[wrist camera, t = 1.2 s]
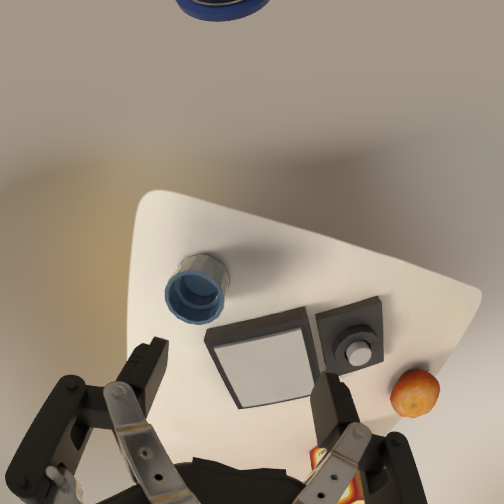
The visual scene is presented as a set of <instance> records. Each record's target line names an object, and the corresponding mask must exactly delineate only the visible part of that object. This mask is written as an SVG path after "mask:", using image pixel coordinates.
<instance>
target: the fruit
mask: <svg viewBox="0 0 504 504" xmlns="http://www.w3.org/2000/svg"><path fill="white" fill-rule="evenodd" d="M439 392H440V386H439V382H438V381H437V379H436V378H435V377H434V376H433V375H432V374H430V373H429V372H428V370H427V371H424V370H415V371H408V372H406V373H404V374H403V375H402V376H401V377H400V379H399V380H398V382H397V384H396V385H395V387H394V389H393V391H392V394H391V396H390V401H391V404H392V406H393V408H394V410H395V411H396V412H397V413H398V414H399V415H400V416H402V417H410V418H415V417H418V416H420V415H423V414H426V413H428V412H429V411H430V410H431V409H432V408H433V406H434V405H435V403H436V401H437V399H438V396H439Z"/></svg>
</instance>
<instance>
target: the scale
mask: <svg viewBox="0 0 504 504" xmlns="http://www.w3.org/2000/svg"><path fill="white" fill-rule="evenodd" d="M204 342H205V344H206V347H207V349H208V351H209V353H210V355H211V357H212V359H213V361H214V363H215V365H216V367H217V369H218V371H219V373H220V375H221V377H222V379H223V381H224V383H225V385H226V387H227V389H228V391H229V393H230V395H231V396H232V398H233V400H234V402H235V404H236V406H237V408H238V409H245V408H252V407H258V406H264V405H270V404H275V403H280V402H285V401H290V400H295V399H299V398H304V397H308V396H311V392H312V389H313V388H314V386H315V384H316V382H317V380H318V378H319V376H320V372H319V367H318V362H317V357H316V352H315V348H314V343H313V339H312V334H311V330H310V325H309V321H308V317H307V313H306V310H305V307H301V308H297V309H293V310H289V311H285V312H281V313H277V314H273V315H269V316H265V317H261V318H257V319H252V320H248V321H244V322H239V323H235V324H230V325H225V326H221V327H216V328H211V329H207V331H206V334H205V338H204Z"/></svg>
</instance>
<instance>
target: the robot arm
mask: <svg viewBox="0 0 504 504" xmlns="http://www.w3.org/2000/svg"><path fill="white" fill-rule="evenodd" d="M190 1H192V2H193V3H195V4H198V5H201V6H205V7H228V6H233V5H237V4H240V3H242V2H245V1H247V0H190ZM168 347H169V340H165V339H162V338H159V337H154V338H153V340H152V341H151V343H150V345H148V344H145V343H142V344H140V345H139V346H137V347H136V348H135V349H134V351H133V352H132V354H131V356H130V357H129V359H128V361H127V362H126V364H125V366H124V367H123V369H122V371H121V372H120V374H119V376H118V377H117V379H116V381H114V382H110V383H108V384H107V385H106V386H105V387H97V386H90V385H86V384H85V382H84V380H83V379H82V378H81V377H79V376H76V375H66V376H63V377H62V378H61V379H60V380H59V381H58V383H57V384H56V386H55V387H54V389H53V390H52V392H51V393H50V395H49V396H48V398H47V400H46V401H45V403H44V404H43V406H42V408H41V409H40V411H39V413H38V414H37V416H36V418H35V419H34V421H33V423H32V424H31V426H30V428H29V429H28V431H27V433H26V435H25V437H24V438H23V440H22V442H21V444H20V446H19V448H18V449H17V451H16V453H15V455H14V457H13V459H12V461H11V463H10V465H9V467H8V469H7V471H6V474H5V480H6V484H7V486H8V488H9V489H10V490H11V491H12V492H13V493H14V494H15V495H16V496H18V497H19V498H20V499H21V500H22V501H23V502H24V503H26V504H83V501H82V494H83V492H82V488H81V485H80V484H79V482H78V481H77V480H76V479H75V477H74V474H75V471H76V469H77V466H78V464H79V461H80V459H81V456H82V454H83V451H84V449H85V447H86V444H87V442H88V439H89V437H90V435H91V432H92V430H93V428H102V429H111V430H112V432H113V435H114V437H115V440H116V442H117V445H118V447H119V450H120V452H121V455H122V457H123V460H124V462H125V465H126V467H127V470H128V472H129V474H130V476H131V478H132V481H133V483H134V486H132V487H130V488H128V489H126V490H124V491H122V492H120V493H118V494H116V495H114V496H112V497H110V498H107V499H105V500H103V501H101V502H99V503H97V504H337V502H338V501H339V499H340V498H341V496H342V495H343V493H344V492H345V490H346V488H347V487H348V485H349V484H350V482H351V480H352V479H353V477H354V475H355V473H356V472H357V470H359V472H360V478H361V483H362V489H363V496H364V502H365V504H428V503H427V500H426V496H425V493H424V490H423V486H422V483H421V479H420V476H419V473H418V470H417V467H416V464H415V461H414V458H413V455H412V452H411V449H410V446H409V443H408V440H407V438H406V437H405V436H404V435H403V434H401V433H399V432H390V433H388V434H387V436H386V437H383V436H379V435H374V434H372V433H371V431H370V429H369V428H368V427H367V426H366V425H364V424H362V423H360V420H359V417H358V414H357V411H356V408H355V405H354V403H353V399H352V398H351V397H352V396H351V393H350V390H349V388H348V387H347V386H346V385H345V383H344V382H340V380H339V377H338V374H337V373H335V372H326V371H323V372H322V373H321V374H320V376H319V378H318V380H317V382H316V384H315V386H314V388H313V389H312V392H311V396H310V402H311V408H312V414H313V419H314V425H315V431H316V437H317V443H318V448H326V450H327V452H326V453H325V454H324V456H323V457H322V458H321V460H320V461H319V462H318V464H317V465H316V466H315V468H314V469H313V470H312V471H311V473H310V474H309V475H308V476H307V478H306V479H305V480H304V481H303V482H301V481H299V480H297V479H295V478H293V477H290V476H287V475H286V469H270V468H260V469H250V470H238V469H235V468H232V467H229V466H227V465H224V464H221V463H219V462H216V461H210V460H205V459H200V458H196V457H193V461H192V462H183V463H177V464H173V463H172V462H171V460H170V458H169V456H168V455H167V453H166V451H165V449H164V447H163V445H162V444H161V442H160V440H159V438H158V436H157V434H156V432H155V430H154V428H153V427H152V425H151V424H148V422H147V421H146V418H147V416H148V413H149V411H150V408H151V406H152V403H153V401H154V398H155V396H156V393H157V391H158V388H159V386H160V383H161V381H162V379H163V376H164V374H165V371H166V367H167V360H168ZM386 470H387V471H386ZM387 474H388V475H387Z"/></svg>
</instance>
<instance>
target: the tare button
mask: <svg viewBox="0 0 504 504" xmlns="http://www.w3.org/2000/svg"><path fill="white" fill-rule="evenodd" d="M346 354H347V357H348V359H349V362H350V364H352V365H353V366H361V365H363V364H365V363H366V362H368V361H369V359H370V358H371V350H370V348H369V347H368V345H367V343H366V342H364V341H356V342H353V343H352V344H350V345H349V347H348V348H347V351H346Z"/></svg>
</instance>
